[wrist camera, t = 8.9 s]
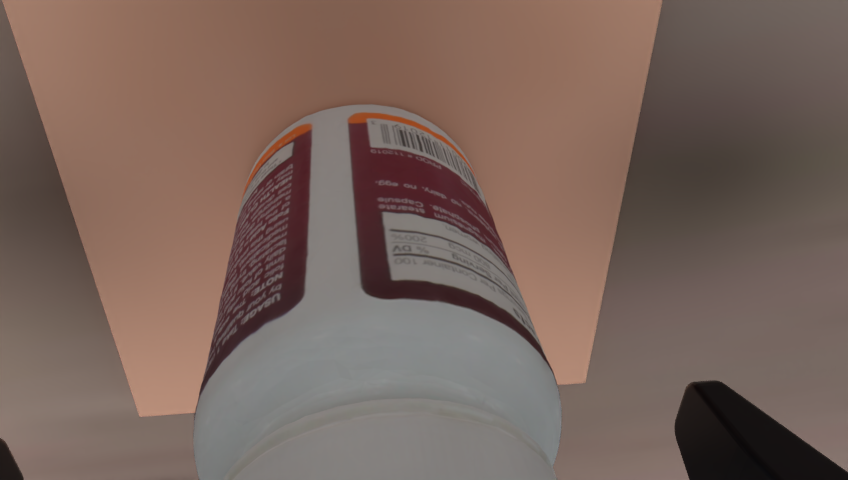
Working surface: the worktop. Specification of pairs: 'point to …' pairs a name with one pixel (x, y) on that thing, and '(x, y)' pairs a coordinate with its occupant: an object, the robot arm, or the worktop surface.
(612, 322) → the worktop surface
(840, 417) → the worktop surface
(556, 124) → the tile
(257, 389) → the pill bottle
